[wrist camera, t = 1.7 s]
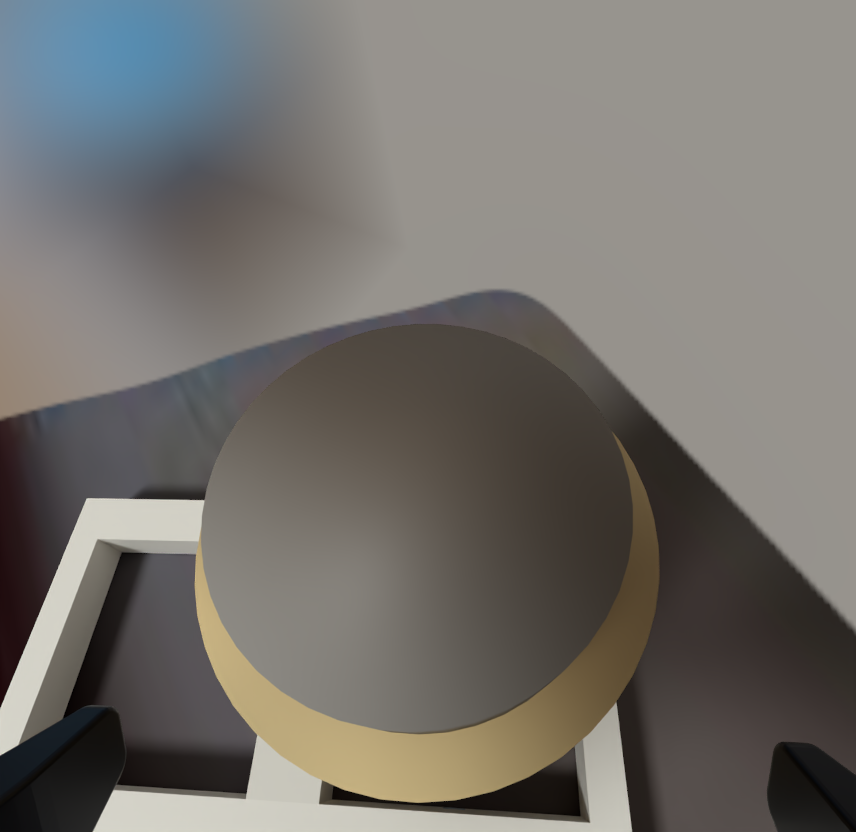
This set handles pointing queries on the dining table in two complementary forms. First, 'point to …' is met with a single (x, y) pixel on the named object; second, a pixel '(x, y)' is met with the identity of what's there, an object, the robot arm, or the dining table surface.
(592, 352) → the dining table surface
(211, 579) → the plug
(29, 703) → the holder
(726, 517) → the dining table surface
